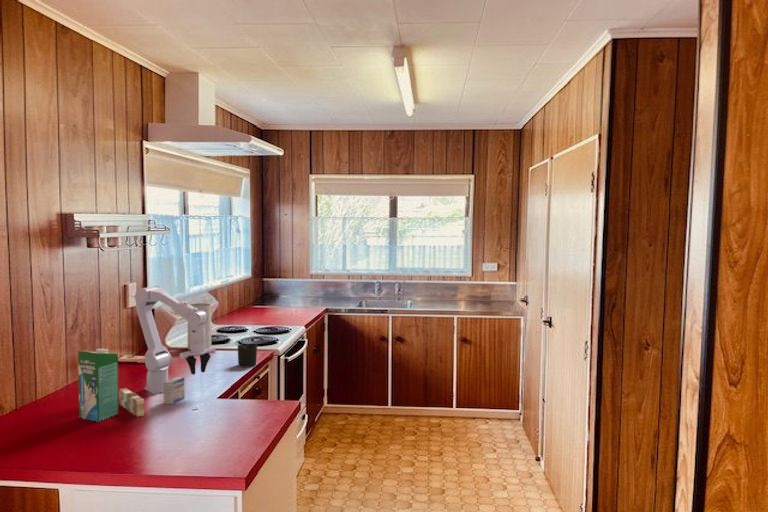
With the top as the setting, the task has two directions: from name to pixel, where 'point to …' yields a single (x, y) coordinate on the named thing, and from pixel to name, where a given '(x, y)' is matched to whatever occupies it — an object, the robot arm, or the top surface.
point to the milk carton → (98, 384)
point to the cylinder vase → (207, 309)
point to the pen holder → (247, 354)
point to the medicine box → (174, 390)
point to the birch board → (131, 402)
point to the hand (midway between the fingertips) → (198, 372)
